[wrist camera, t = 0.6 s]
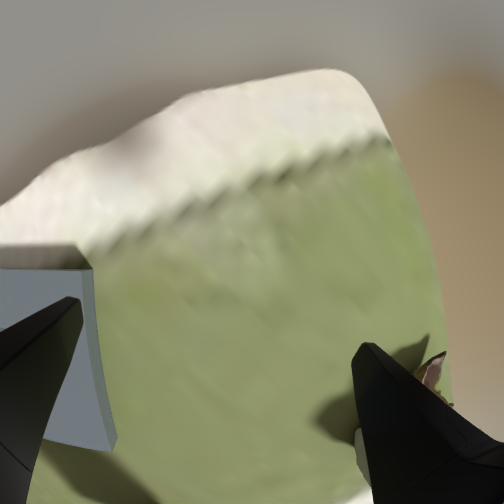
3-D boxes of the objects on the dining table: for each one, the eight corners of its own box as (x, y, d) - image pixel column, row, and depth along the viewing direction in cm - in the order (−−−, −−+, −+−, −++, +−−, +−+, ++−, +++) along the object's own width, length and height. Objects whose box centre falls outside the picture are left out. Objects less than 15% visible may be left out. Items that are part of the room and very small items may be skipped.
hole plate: (117, 437, 21) (111, 452, 18) (-4, 410, 18) (-15, 419, 15) (93, 269, 21) (80, 271, 18) (-31, 267, 18) (-47, 268, 15)
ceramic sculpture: (369, 472, 16) (485, 357, 19) (322, 425, 24) (427, 341, 27) (389, 514, 17) (485, 421, 20) (350, 474, 25) (439, 400, 28)
